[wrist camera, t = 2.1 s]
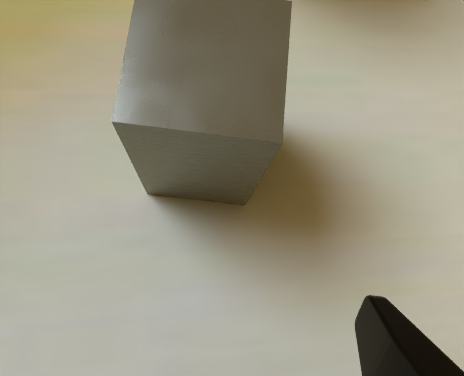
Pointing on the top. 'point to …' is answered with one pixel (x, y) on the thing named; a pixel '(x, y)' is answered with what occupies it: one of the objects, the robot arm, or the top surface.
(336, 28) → the top surface
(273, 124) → the grey tin
